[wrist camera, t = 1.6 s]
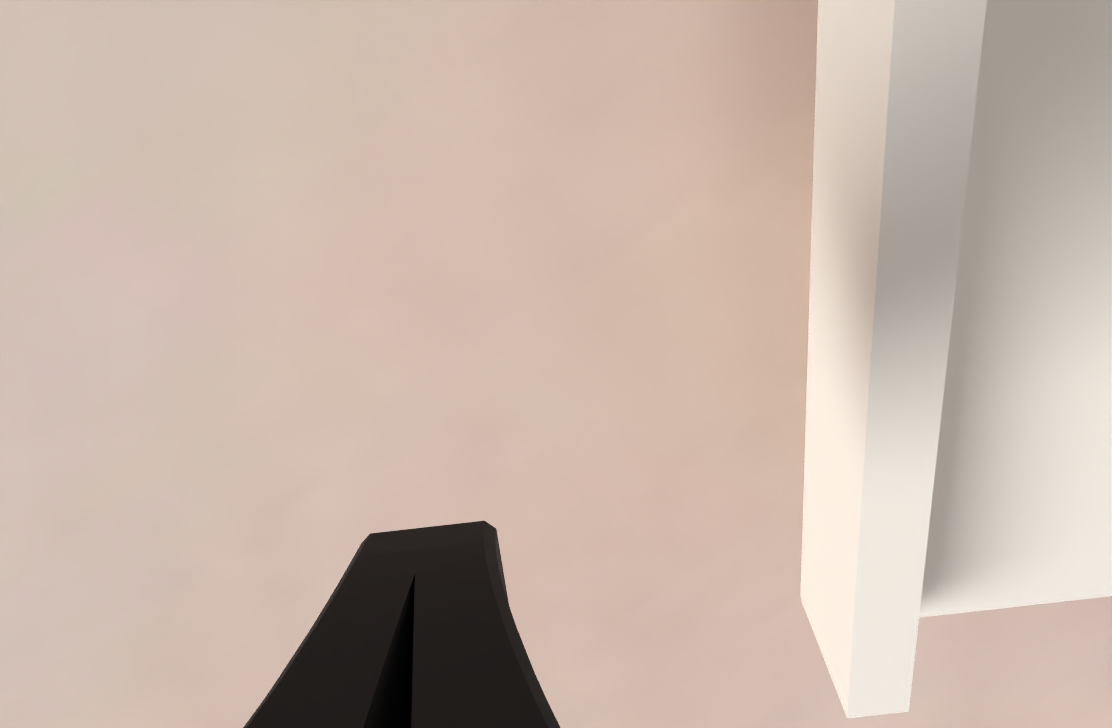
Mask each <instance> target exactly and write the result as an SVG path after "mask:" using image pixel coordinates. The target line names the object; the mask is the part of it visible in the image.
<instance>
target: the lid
mask: <svg viewBox="0 0 1112 728" xmlns="http://www.w3.org/2000/svg"><path fill="white" fill-rule="evenodd" d="M1109 596H1112V0H818V29H817V63H816V96H815V130H814V164H813V197H812V231H811V265H810V298H809V332H808V365H807V399H806V433H805V466H804V500H803V533H802V567H801V601H802V603H803V606H804V609H805V611H806V614H807V616H808V619H809V621H810V624H811V627H812V629H813V632H814V634H815V637H816V639H817V642H818V644H819V647H820V650H821V652H822V655H823V657H824V660H825V662H826V665H827V668H828V670H829V673H830V675H831V678H832V680H833V683H834V685H835V688H836V691H837V693H838V696H839V698H840V701H841V703H842V706H843V709H844V711H845V714H846V716H847V718H855V717H864V716H873V715H882V714H891V713H900V712H909V704H910V695H911V686H912V677H913V668H914V659H915V650H916V641H917V632H918V623H919V617H928V616H937V615H946V614H955V613H964V612H973V611H982V610H991V609H1000V608H1009V607H1018V606H1027V605H1036V604H1045V603H1054V602H1063V601H1072V600H1081V599H1091V598H1100V597H1109Z"/></svg>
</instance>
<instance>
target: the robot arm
mask: <svg viewBox="0 0 1112 728" xmlns="http://www.w3.org/2000/svg"><path fill="white" fill-rule="evenodd" d="M244 728H560V726H559V724H558V722H557V720H556V718H555V716H554V714H553V712H552V710H551V708H550V706H549V704H548V702H547V700H546V697H545V695H544V693H543V691H542V688H541V686H540V684H539V682H538V680H537V677H536V675H535V673H534V670H533V668H532V665H531V663H530V660H529V658H528V655H527V653H526V650H525V648H524V645H523V643H522V640H521V638H520V635H519V633H518V630H517V628H516V625H515V622H514V619H513V616H512V613H511V610H510V607H509V603H508V597H507V591H506V585H505V579H504V573H503V567H502V561H501V555H500V549H499V543H498V537H497V531H496V528H494V527H493V526H491V525H490V524H488V523H487V522H485V521H478V522H470V523H461V524H452V525H443V526H434V527H425V528H416V529H407V530H399V531H390V532H381V533H372V534H369V536H368V537H367V538H366V539H365V540H364V541H363V542H362V543H361V545H360V547H359V549H358V550H357V552H356V554H355V556H354V558H353V559H352V561H351V563H350V565H349V566H348V568H347V570H346V571H345V573H344V575H343V577H342V578H341V580H340V582H339V583H338V585H337V587H336V589H335V590H334V592H333V594H332V595H331V597H330V599H329V600H328V602H327V604H326V605H325V607H324V608H323V610H322V612H321V613H320V615H319V617H318V618H317V620H316V621H315V623H314V625H313V626H312V628H311V629H310V631H309V633H308V634H307V636H306V637H305V639H304V640H303V642H302V643H301V645H300V646H299V648H298V649H297V651H296V652H295V654H294V655H293V657H292V658H291V660H290V662H289V663H288V665H287V666H286V668H285V669H284V671H283V672H282V674H281V675H280V677H279V678H278V680H277V681H276V683H275V684H274V686H273V687H272V689H271V690H270V692H269V693H268V695H267V696H266V697H265V699H264V700H263V702H262V703H261V704H260V706H259V707H258V709H257V710H256V711H255V713H254V714H253V715H252V717H251V718H250V719H249V721H248V722H247V723H246V725H245V726H244Z"/></svg>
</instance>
